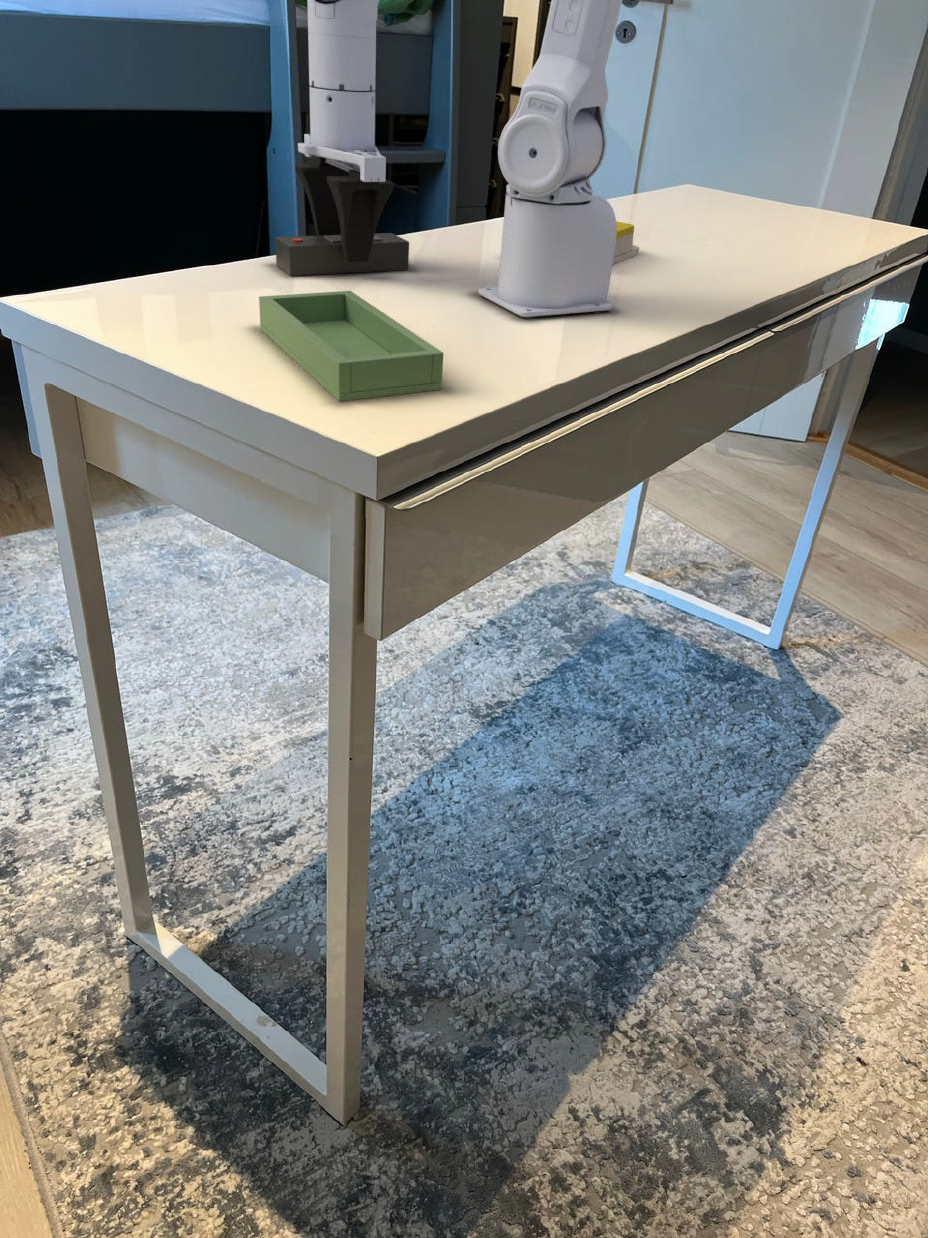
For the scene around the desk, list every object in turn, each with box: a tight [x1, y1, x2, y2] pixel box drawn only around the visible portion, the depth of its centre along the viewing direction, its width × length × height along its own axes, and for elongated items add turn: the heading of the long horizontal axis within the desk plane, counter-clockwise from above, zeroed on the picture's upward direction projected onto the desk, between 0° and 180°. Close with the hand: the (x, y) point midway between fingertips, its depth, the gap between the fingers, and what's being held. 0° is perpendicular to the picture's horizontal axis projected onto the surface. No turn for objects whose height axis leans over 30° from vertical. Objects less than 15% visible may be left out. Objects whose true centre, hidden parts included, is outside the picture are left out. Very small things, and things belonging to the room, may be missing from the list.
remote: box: [274, 232, 410, 277], centre depth 88 cm, size 12×4×3 cm, turn 118°
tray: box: [258, 290, 444, 402], centre depth 66 cm, size 7×16×2 cm, turn 28°
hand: (343, 252), depth 88 cm, fingers open, 6 cm apart
